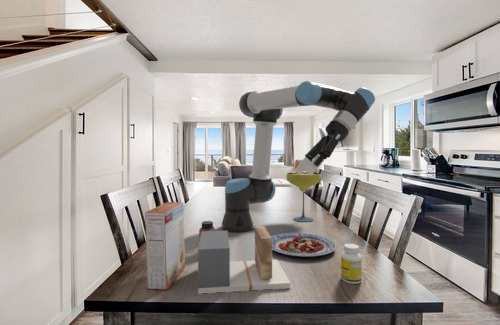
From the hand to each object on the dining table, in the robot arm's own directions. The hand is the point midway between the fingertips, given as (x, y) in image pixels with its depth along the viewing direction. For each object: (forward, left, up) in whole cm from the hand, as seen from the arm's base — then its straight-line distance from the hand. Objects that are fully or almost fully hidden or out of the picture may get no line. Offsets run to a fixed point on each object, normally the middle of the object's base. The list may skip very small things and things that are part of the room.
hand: (302, 173), depth 93 cm
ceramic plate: (-4, +8, -30) cm, 31 cm away
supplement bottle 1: (-30, -15, -29) cm, 44 cm away
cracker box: (-27, -36, -29) cm, 53 cm away
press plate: (-4, -20, -27) cm, 34 cm away
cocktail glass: (-19, +50, -29) cm, 61 cm away
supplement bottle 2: (+18, -9, -29) cm, 36 cm away
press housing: (-9, -24, -29) cm, 39 cm away
